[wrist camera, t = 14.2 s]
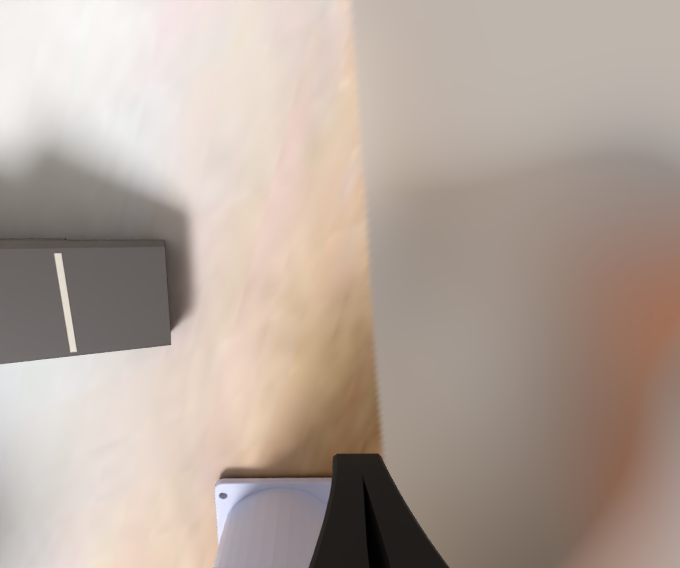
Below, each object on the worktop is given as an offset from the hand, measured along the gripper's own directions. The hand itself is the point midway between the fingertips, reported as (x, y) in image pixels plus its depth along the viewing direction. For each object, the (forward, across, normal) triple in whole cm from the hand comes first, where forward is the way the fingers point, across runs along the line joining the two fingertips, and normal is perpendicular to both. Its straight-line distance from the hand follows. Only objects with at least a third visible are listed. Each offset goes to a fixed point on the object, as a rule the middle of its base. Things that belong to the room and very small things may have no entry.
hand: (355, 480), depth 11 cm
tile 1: (+9, +9, -2) cm, 13 cm away
